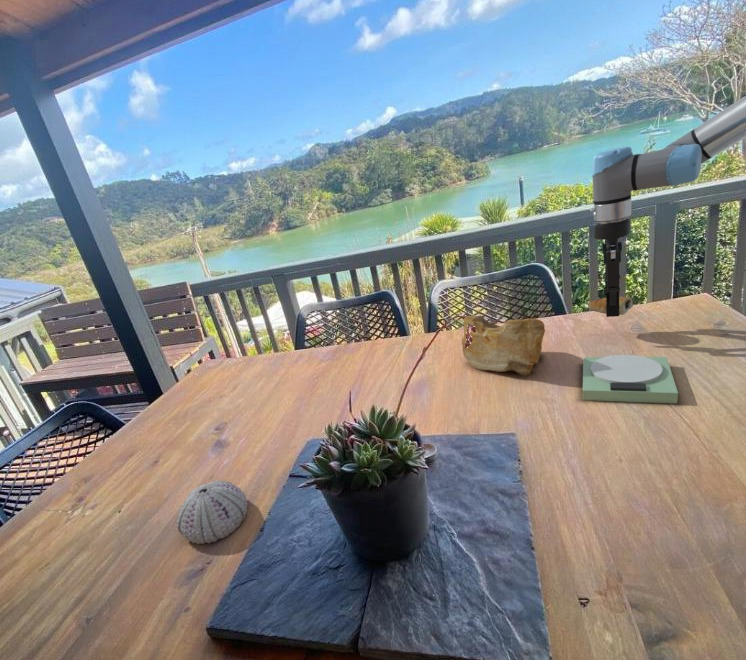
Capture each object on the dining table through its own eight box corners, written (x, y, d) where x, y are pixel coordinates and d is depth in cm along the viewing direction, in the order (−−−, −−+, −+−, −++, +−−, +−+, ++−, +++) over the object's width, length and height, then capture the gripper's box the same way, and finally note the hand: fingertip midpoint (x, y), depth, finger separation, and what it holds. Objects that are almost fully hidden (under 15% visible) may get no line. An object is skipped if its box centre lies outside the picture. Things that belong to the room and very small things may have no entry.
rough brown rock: (575, 365, 108) (575, 307, 103) (533, 388, 101) (531, 326, 96) (498, 349, 127) (496, 300, 123) (458, 367, 120) (453, 315, 115)
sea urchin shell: (253, 491, 90) (241, 459, 87) (249, 539, 78) (235, 504, 75) (190, 508, 90) (176, 477, 87) (176, 560, 77) (159, 526, 74)
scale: (665, 368, 97) (666, 353, 95) (677, 406, 84) (678, 389, 83) (583, 368, 105) (583, 354, 103) (582, 402, 92) (582, 387, 91)
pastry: (584, 313, 114) (584, 299, 113) (596, 304, 118) (596, 291, 116) (623, 316, 107) (623, 301, 106) (635, 307, 110) (635, 292, 109)
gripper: (593, 215, 113) (594, 298, 122) (593, 231, 97) (595, 326, 105) (627, 209, 109) (626, 295, 118) (634, 225, 93) (632, 324, 102)
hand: (612, 309), depth 112 cm, fingers closed on pastry, 8 cm apart
